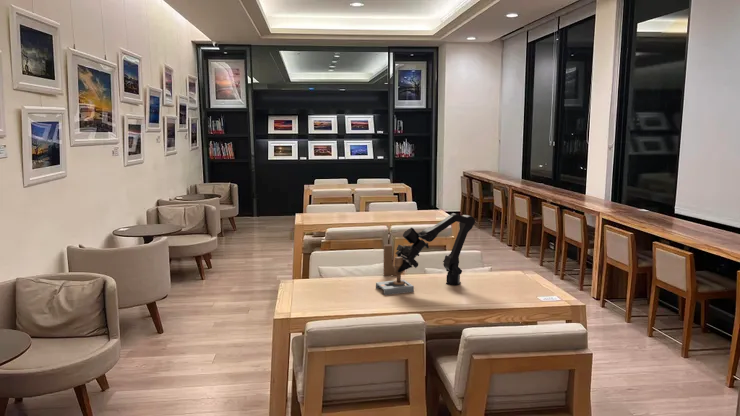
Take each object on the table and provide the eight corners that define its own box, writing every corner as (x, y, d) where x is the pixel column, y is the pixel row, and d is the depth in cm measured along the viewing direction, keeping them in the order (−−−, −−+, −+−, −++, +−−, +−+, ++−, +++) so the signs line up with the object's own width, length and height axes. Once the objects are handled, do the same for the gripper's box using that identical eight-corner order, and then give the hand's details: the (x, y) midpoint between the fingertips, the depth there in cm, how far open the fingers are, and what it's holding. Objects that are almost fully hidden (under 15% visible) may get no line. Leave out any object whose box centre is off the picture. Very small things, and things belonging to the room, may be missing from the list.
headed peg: (406, 283, 287) (406, 258, 285) (396, 285, 284) (397, 259, 282) (400, 281, 292) (400, 256, 290) (390, 282, 289) (391, 257, 287)
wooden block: (398, 273, 319) (398, 244, 317) (399, 275, 315) (399, 245, 312) (383, 274, 319) (383, 244, 316) (384, 276, 314) (384, 245, 312)
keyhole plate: (404, 285, 297) (404, 279, 296) (413, 291, 284) (413, 285, 284) (375, 287, 291) (375, 282, 291) (384, 294, 279) (384, 288, 279)
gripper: (399, 236, 295) (380, 257, 293) (413, 242, 277) (393, 265, 275) (412, 249, 298) (393, 270, 296) (426, 256, 281) (407, 279, 279)
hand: (396, 270), depth 287 cm, fingers closed on headed peg, 4 cm apart
